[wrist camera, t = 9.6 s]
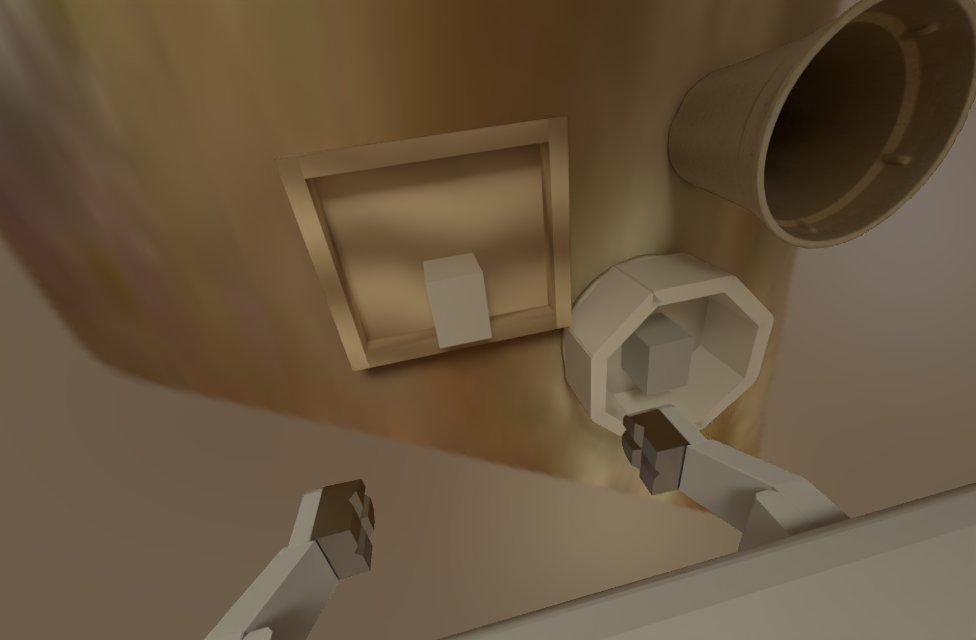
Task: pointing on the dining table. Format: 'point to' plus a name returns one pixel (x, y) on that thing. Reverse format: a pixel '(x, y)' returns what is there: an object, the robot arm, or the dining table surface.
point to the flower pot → (834, 119)
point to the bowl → (690, 304)
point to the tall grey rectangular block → (657, 355)
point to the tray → (437, 231)
